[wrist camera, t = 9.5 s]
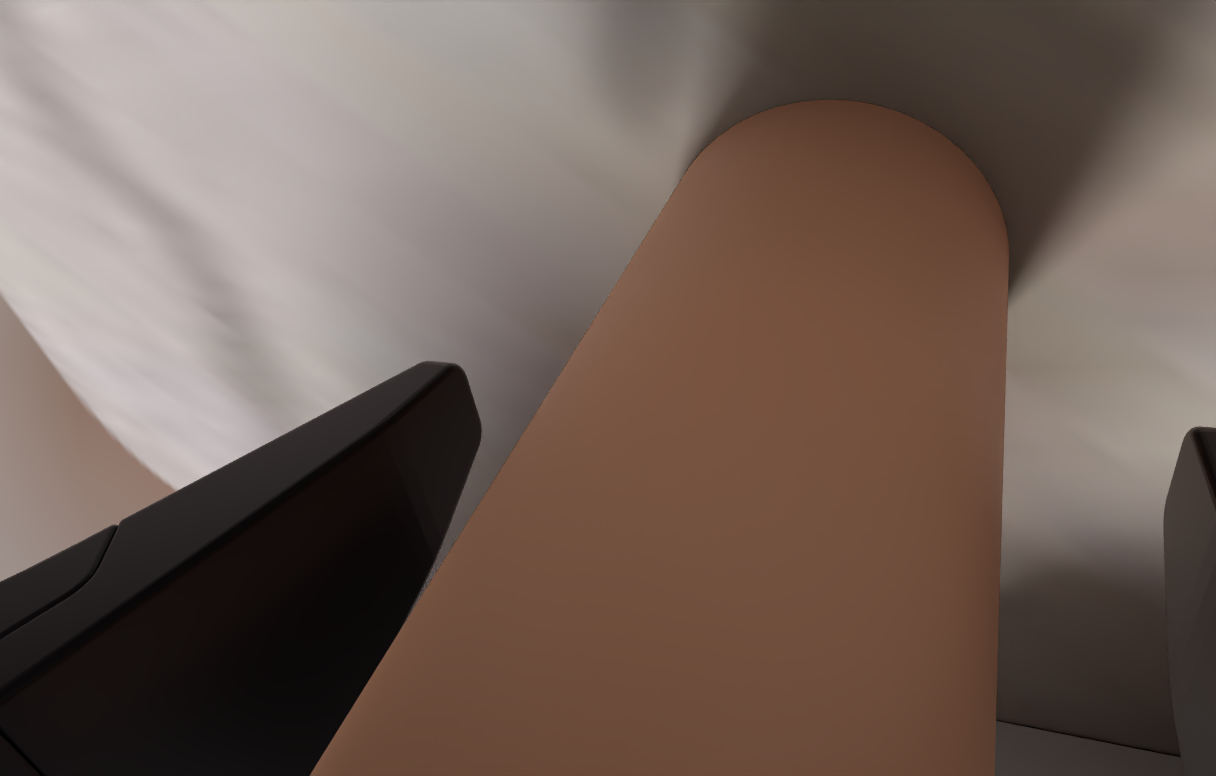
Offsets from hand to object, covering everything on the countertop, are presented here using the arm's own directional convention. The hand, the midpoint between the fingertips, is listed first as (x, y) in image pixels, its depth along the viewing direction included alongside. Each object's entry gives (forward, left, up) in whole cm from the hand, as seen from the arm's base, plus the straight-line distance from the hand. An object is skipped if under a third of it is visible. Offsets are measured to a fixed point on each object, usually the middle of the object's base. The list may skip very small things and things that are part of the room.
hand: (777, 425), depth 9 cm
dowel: (0, 0, -3) cm, 3 cm away
